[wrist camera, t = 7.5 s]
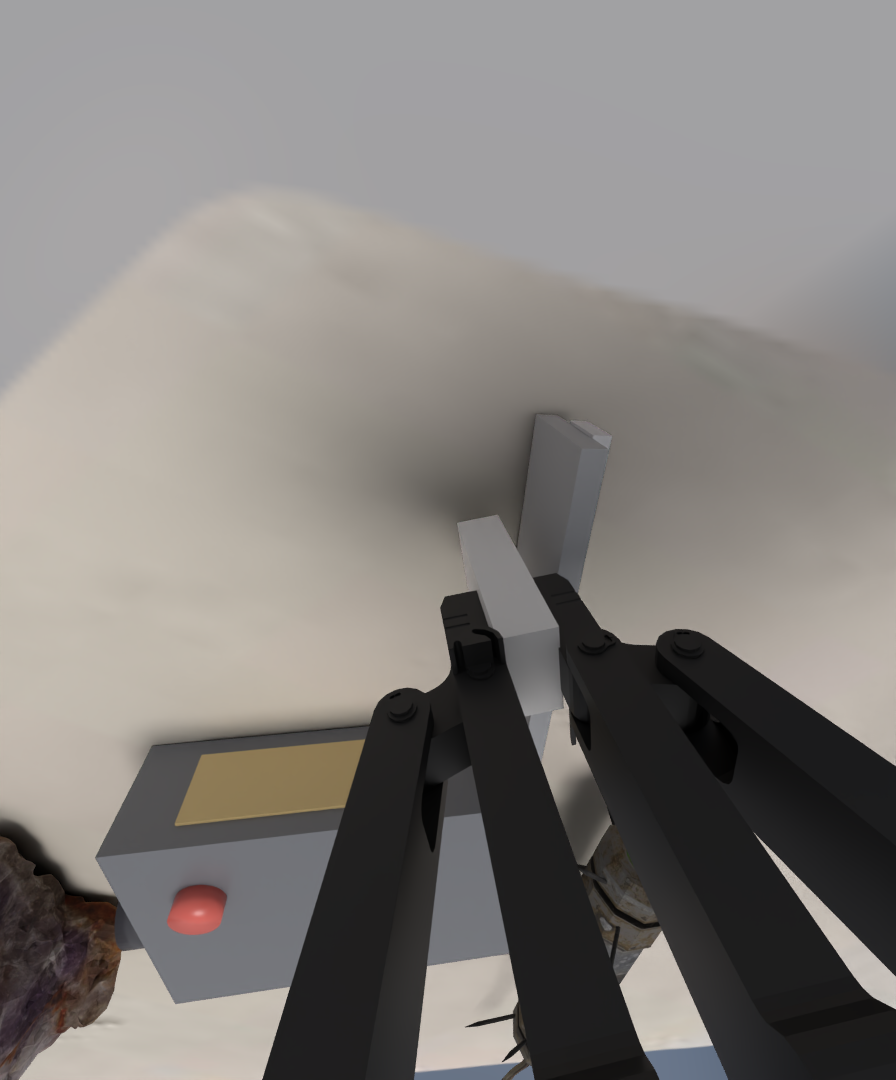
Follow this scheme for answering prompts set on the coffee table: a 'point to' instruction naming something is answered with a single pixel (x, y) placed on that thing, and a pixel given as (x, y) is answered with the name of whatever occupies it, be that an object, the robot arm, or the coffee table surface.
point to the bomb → (605, 921)
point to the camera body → (266, 860)
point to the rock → (48, 961)
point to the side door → (560, 509)
